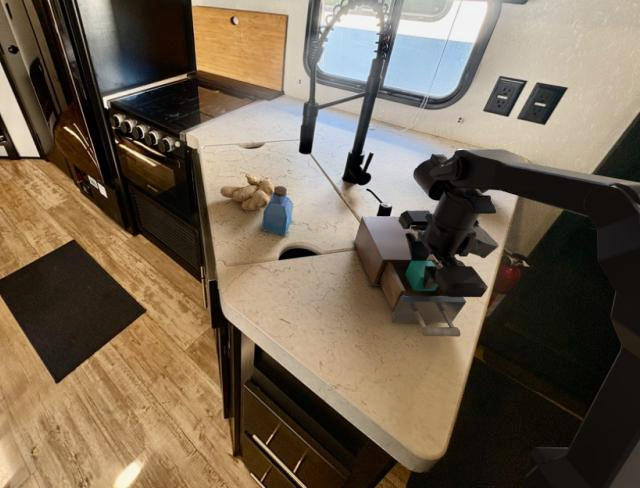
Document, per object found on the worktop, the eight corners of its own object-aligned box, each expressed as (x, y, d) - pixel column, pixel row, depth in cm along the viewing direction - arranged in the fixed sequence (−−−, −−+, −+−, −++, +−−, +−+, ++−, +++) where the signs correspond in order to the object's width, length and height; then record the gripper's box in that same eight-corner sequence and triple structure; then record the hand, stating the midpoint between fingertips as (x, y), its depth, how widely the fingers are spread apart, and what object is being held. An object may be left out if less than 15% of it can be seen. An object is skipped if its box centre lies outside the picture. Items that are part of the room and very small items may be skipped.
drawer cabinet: (429, 286, 68) (444, 259, 63) (372, 286, 68) (382, 259, 63) (403, 242, 79) (414, 216, 74) (354, 241, 79) (361, 216, 74)
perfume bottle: (262, 229, 83) (264, 193, 76) (269, 215, 87) (272, 180, 81) (284, 236, 81) (289, 199, 74) (290, 221, 86) (295, 185, 79)
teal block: (434, 291, 59) (442, 277, 57) (413, 290, 59) (420, 277, 57) (424, 274, 63) (431, 260, 60) (404, 274, 63) (411, 260, 60)
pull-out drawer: (466, 347, 56) (483, 326, 52) (403, 347, 56) (415, 326, 52) (421, 271, 70) (432, 250, 66) (371, 271, 70) (378, 250, 66)
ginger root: (294, 199, 92) (291, 179, 86) (253, 230, 86) (247, 210, 81) (260, 177, 102) (255, 158, 97) (221, 204, 97) (215, 185, 91)
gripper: (546, 261, 44) (494, 324, 53) (468, 186, 59) (437, 244, 68) (467, 261, 44) (429, 323, 53) (409, 186, 59) (387, 244, 68)
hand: (421, 279), depth 60 cm, fingers closed on teal block, 4 cm apart
